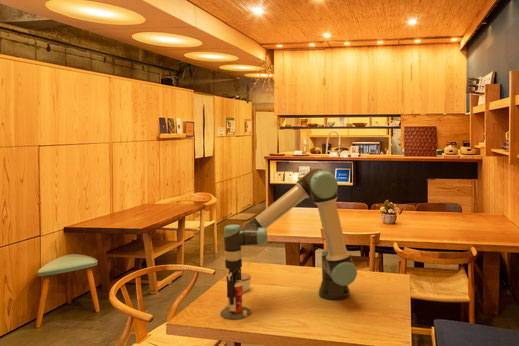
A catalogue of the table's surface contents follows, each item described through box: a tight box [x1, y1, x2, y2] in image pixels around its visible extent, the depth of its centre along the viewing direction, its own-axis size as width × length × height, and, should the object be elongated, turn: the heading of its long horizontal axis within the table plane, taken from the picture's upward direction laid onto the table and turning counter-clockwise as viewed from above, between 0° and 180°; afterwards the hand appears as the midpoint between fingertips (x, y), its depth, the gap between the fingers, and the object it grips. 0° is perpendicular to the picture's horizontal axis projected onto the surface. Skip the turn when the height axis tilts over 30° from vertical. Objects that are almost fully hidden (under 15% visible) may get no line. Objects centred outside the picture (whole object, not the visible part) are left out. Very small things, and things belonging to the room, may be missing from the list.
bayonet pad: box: [220, 303, 252, 321], centre depth 233 cm, size 14×14×3 cm
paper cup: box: [225, 280, 243, 313], centre depth 232 cm, size 8×8×14 cm
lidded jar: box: [241, 272, 252, 294], centre depth 264 cm, size 11×11×9 cm
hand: (235, 307), depth 233 cm, fingers closed on paper cup, 7 cm apart
